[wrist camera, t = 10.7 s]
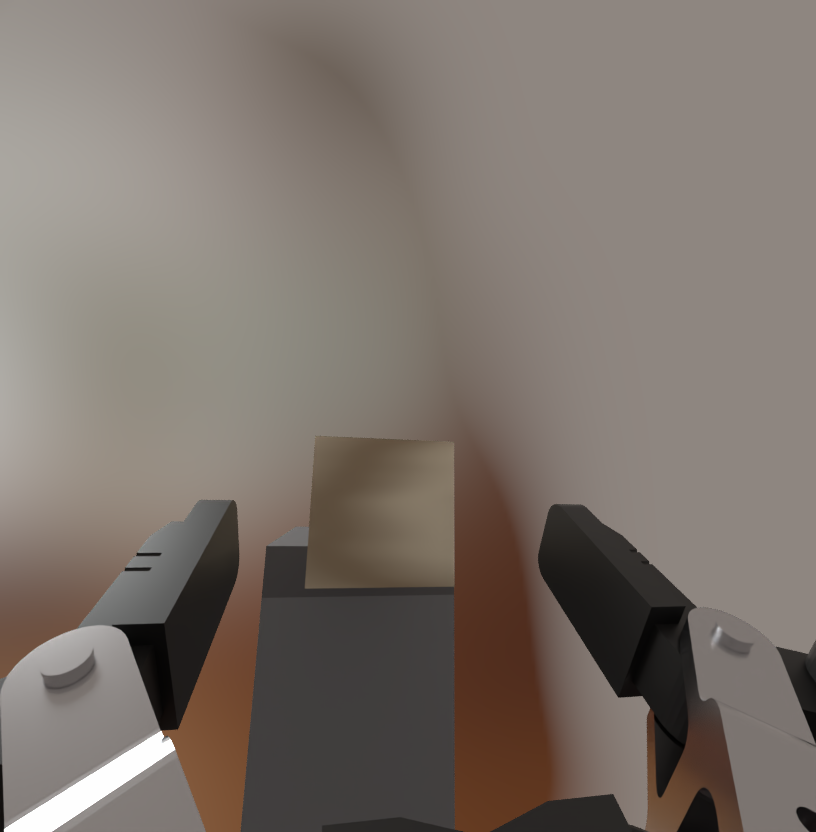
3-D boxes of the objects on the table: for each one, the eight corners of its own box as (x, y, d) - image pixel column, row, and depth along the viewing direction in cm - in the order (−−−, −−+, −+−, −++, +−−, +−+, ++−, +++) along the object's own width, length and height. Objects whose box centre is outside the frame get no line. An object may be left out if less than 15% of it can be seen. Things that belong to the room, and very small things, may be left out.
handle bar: (270, 589, 9) (285, 414, 10) (318, 527, 27) (322, 467, 28) (484, 586, 10) (481, 424, 10) (391, 528, 27) (393, 470, 28)
